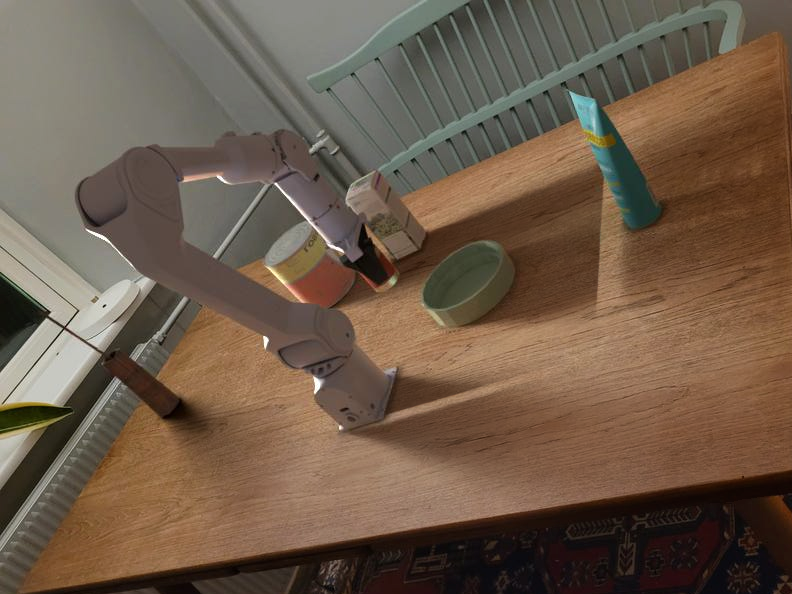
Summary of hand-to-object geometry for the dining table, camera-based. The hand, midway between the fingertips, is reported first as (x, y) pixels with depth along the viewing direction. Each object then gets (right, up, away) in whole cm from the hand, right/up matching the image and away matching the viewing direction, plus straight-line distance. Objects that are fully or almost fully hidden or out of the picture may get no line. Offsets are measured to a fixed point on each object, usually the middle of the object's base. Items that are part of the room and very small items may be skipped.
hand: (380, 274), depth 108 cm
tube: (+37, +5, -16) cm, 41 cm away
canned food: (-12, 0, +23) cm, 26 cm away
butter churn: (-44, -21, +29) cm, 57 cm away
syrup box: (+3, +7, +16) cm, 18 cm away
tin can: (+1, -1, +1) cm, 2 cm away
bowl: (+15, -4, -5) cm, 16 cm away
